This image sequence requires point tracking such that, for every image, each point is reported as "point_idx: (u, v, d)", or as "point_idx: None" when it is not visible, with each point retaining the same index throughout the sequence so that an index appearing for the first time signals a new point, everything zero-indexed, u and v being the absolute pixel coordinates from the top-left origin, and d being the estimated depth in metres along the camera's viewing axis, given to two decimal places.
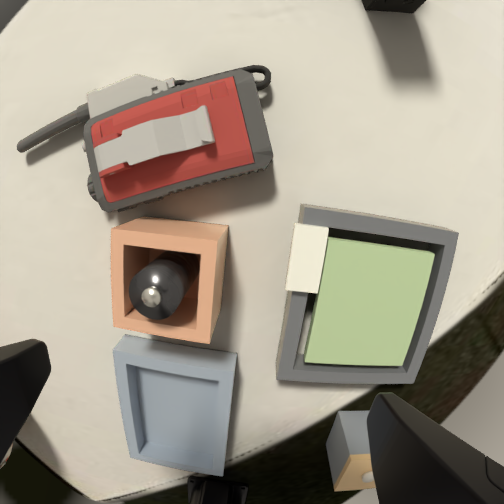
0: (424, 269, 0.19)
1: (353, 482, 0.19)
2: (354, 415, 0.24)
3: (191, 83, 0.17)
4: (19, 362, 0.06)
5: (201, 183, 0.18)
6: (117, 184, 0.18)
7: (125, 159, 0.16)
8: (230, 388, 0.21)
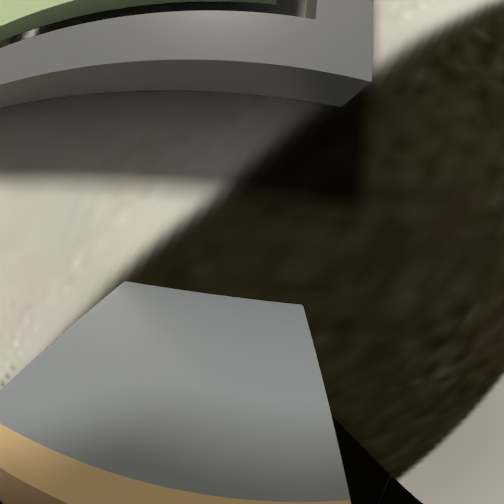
0: None
1: None
2: (167, 298, 0.07)
3: None
4: None
5: None
6: None
7: None
8: None
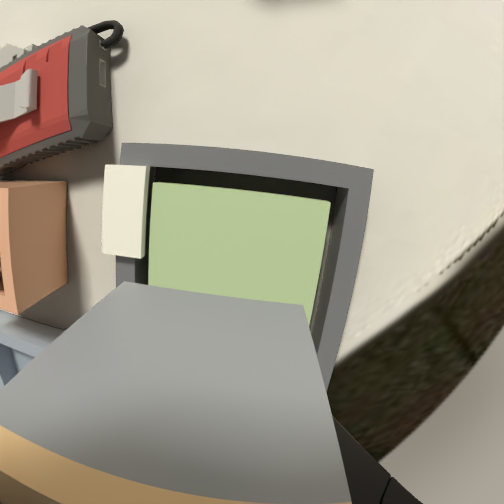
0: (314, 226, 0.13)
1: None
2: (166, 299, 0.07)
3: (38, 47, 0.11)
4: None
5: (27, 154, 0.13)
6: None
7: None
8: None
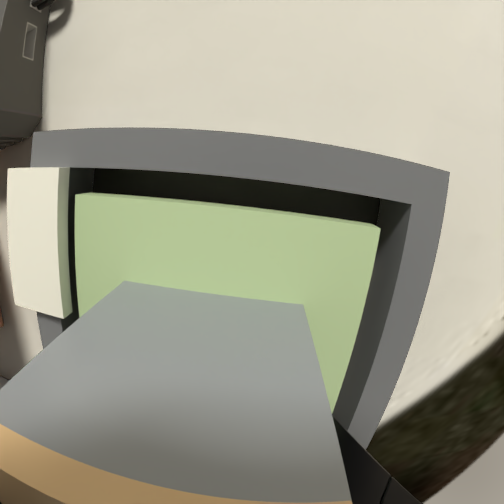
0: (351, 270, 0.07)
1: None
2: (166, 298, 0.07)
3: None
4: None
5: None
6: None
7: None
8: None
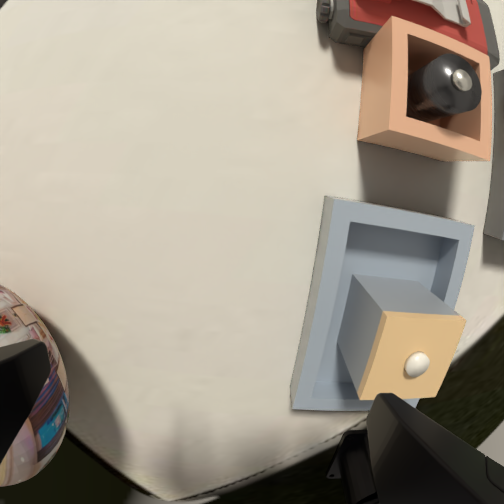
0: None
1: (391, 379, 0.13)
2: (376, 279, 0.17)
3: None
4: (19, 362, 0.06)
5: None
6: (369, 7, 0.12)
7: None
8: (467, 251, 0.16)
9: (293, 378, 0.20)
